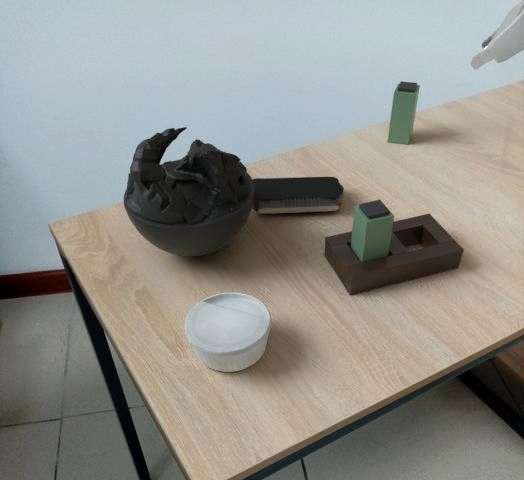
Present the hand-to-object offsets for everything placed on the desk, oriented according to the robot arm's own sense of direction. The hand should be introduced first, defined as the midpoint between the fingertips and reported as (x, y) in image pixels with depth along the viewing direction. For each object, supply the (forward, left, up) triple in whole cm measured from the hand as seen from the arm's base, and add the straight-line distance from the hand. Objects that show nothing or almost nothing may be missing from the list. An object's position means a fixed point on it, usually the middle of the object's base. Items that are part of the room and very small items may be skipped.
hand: (478, 56), depth 95 cm
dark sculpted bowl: (+16, +57, -16) cm, 61 cm away
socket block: (-11, +41, -16) cm, 45 cm away
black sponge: (+11, +38, -16) cm, 43 cm away
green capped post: (+10, +6, -16) cm, 20 cm away
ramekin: (-5, +70, -16) cm, 72 cm away
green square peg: (-9, +44, -16) cm, 48 cm away
